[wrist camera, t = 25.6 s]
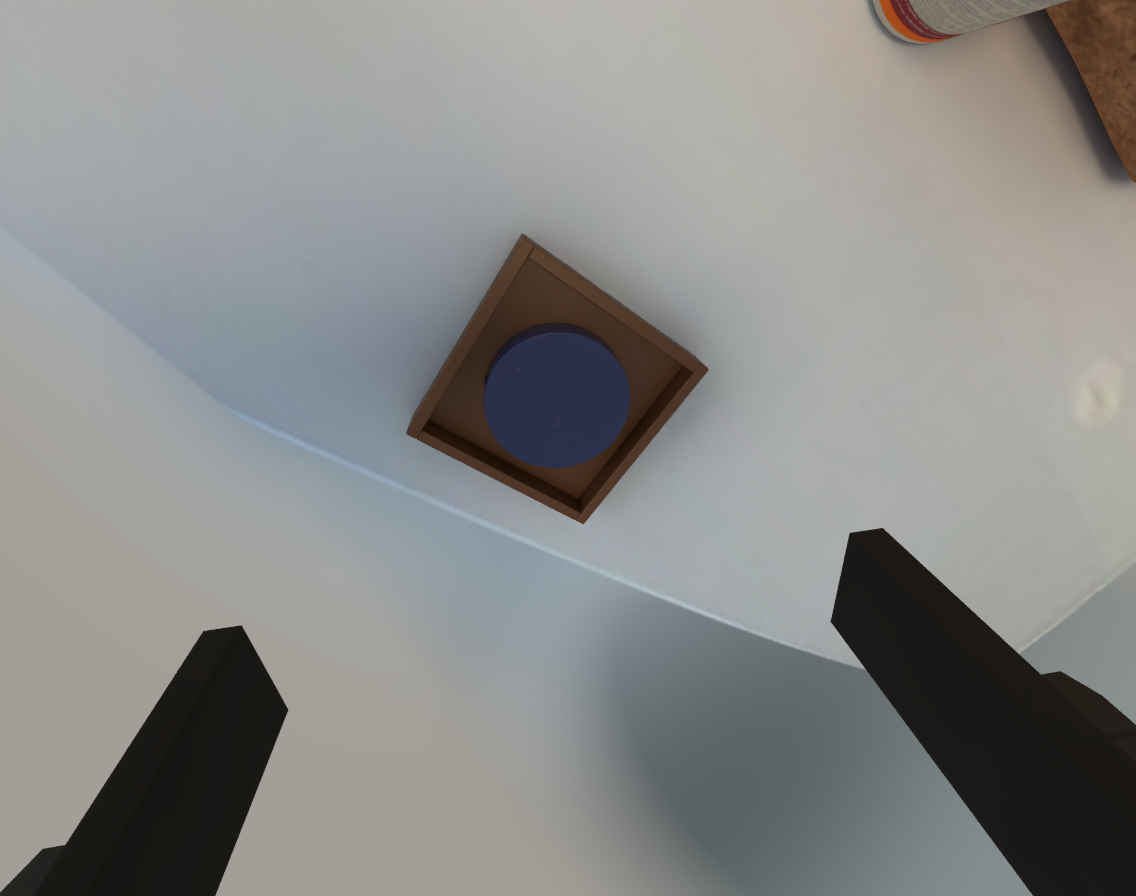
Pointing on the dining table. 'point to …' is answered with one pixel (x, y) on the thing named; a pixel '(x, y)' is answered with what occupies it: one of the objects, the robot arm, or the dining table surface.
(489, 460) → the tray
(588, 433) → the jar lid
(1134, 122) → the bread
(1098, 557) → the dining table surface
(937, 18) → the pill bottle
